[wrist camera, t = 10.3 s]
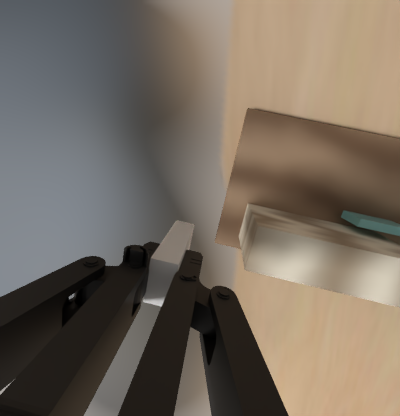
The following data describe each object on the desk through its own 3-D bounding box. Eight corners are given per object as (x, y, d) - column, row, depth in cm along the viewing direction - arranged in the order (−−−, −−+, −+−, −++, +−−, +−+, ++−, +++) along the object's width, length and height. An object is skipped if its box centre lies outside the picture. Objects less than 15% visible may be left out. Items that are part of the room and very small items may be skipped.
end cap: (343, 210, 23) (360, 218, 20) (391, 220, 23) (415, 230, 20) (319, 268, 25) (332, 283, 22) (363, 278, 25) (381, 295, 22)
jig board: (246, 110, 22) (248, 108, 21) (528, 167, 21) (542, 167, 20) (215, 239, 26) (214, 242, 25) (449, 294, 25) (458, 300, 24)
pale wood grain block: (238, 235, 25) (244, 270, 18) (247, 203, 24) (258, 225, 17) (360, 264, 24) (418, 311, 17) (375, 231, 23) (443, 268, 16)
